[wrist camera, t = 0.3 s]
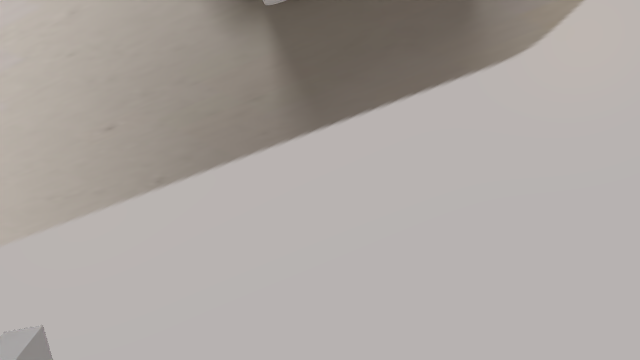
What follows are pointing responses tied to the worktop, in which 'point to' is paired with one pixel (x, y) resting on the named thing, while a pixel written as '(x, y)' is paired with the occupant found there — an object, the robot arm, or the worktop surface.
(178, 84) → the worktop surface
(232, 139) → the worktop surface
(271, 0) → the cable organizer
